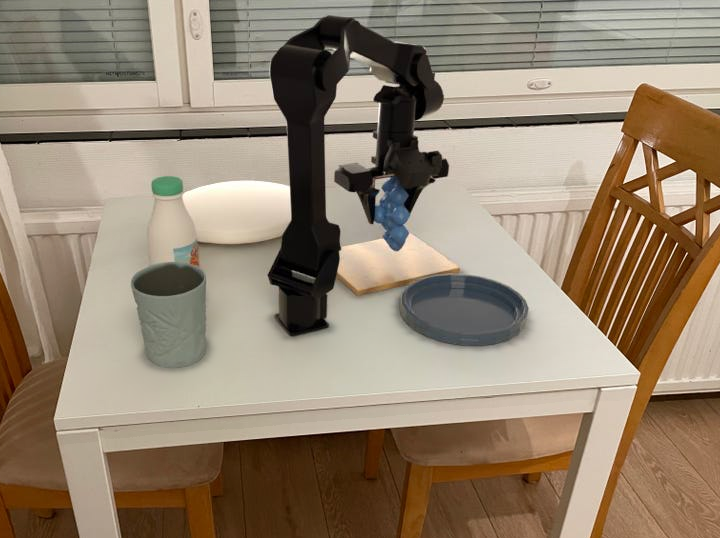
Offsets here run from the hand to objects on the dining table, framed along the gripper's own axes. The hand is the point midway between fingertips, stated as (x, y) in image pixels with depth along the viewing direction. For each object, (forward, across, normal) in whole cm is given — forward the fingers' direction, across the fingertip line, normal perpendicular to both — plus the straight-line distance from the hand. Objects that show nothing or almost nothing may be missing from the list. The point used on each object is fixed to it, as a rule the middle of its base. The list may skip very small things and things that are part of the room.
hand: (388, 220), depth 127 cm
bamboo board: (+8, 0, 0) cm, 8 cm away
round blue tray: (+8, +2, -20) cm, 22 cm away
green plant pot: (+9, -42, -12) cm, 44 cm away
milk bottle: (+9, -37, +3) cm, 38 cm away
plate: (+9, -17, +27) cm, 33 cm away
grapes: (+5, 0, 0) cm, 5 cm away
